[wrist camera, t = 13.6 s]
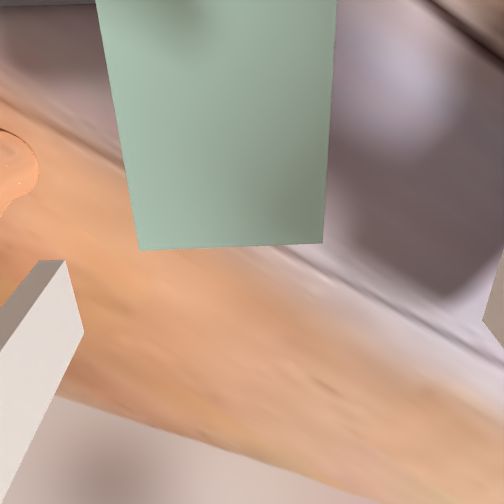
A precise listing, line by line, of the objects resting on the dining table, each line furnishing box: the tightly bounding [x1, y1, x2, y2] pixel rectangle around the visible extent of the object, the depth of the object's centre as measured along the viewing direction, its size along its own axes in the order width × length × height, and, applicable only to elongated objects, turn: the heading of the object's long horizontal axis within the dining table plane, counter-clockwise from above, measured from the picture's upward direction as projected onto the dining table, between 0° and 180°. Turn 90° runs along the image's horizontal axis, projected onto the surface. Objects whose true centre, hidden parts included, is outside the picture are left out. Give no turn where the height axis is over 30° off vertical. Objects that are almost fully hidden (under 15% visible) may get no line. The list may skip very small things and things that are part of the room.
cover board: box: [95, 0, 337, 251], centre depth 24 cm, size 11×14×3 cm
